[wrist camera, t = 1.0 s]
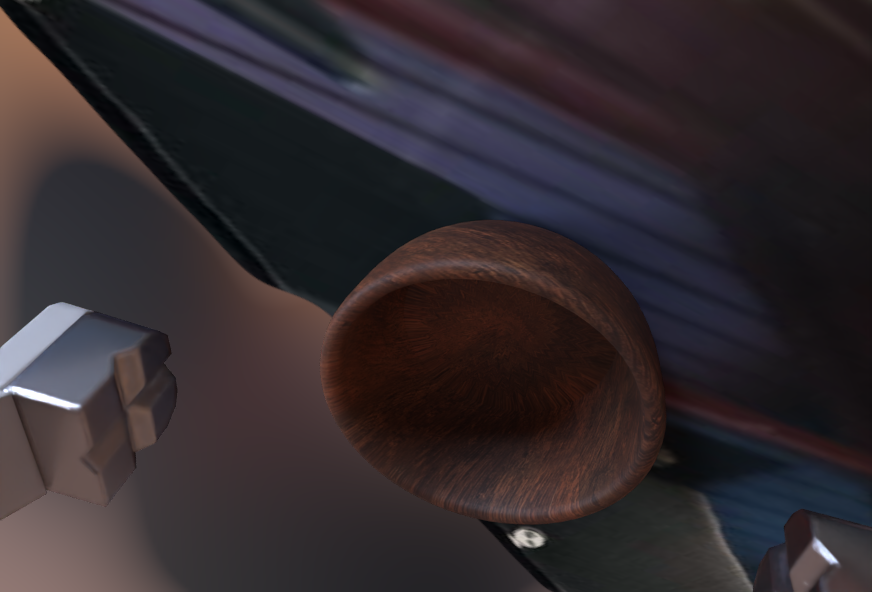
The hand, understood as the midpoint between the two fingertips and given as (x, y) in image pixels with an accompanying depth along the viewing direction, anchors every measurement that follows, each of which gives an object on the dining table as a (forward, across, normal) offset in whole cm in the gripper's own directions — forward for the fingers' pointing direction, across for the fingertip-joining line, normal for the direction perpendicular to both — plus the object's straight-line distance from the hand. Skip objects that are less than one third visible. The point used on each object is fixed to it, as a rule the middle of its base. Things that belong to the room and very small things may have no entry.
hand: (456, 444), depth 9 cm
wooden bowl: (+41, +2, +31) cm, 51 cm away
